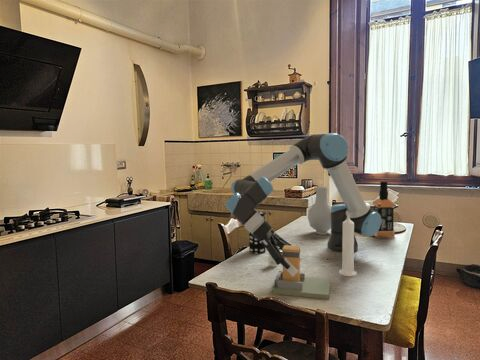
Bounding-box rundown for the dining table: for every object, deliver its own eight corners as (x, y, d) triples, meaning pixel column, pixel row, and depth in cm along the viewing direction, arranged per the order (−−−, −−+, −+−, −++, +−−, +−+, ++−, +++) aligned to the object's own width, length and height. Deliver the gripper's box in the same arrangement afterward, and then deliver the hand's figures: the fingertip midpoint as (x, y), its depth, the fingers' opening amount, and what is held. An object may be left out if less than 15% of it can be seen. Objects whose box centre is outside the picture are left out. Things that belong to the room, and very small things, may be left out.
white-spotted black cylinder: (264, 254, 172) (263, 214, 170) (248, 253, 174) (247, 214, 172) (266, 249, 180) (265, 211, 178) (250, 248, 182) (250, 211, 180)
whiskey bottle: (395, 238, 195) (396, 181, 192) (377, 238, 195) (378, 182, 192) (387, 233, 205) (388, 180, 202) (371, 233, 206) (371, 180, 202)
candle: (336, 270, 148) (336, 213, 145) (352, 270, 148) (353, 212, 146) (342, 277, 140) (343, 216, 138) (359, 276, 141) (360, 215, 139)
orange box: (300, 281, 134) (300, 245, 132) (299, 286, 129) (298, 249, 127) (284, 280, 135) (284, 245, 134) (282, 285, 130) (282, 248, 129)
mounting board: (329, 282, 136) (329, 272, 135) (329, 299, 121) (329, 288, 121) (279, 278, 141) (279, 268, 140) (272, 293, 126) (272, 283, 126)
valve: (278, 268, 152) (287, 260, 163) (278, 253, 152) (287, 246, 162) (264, 266, 155) (274, 258, 166) (264, 252, 155) (274, 245, 165)
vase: (339, 231, 212) (339, 186, 210) (331, 238, 199) (331, 189, 196) (313, 228, 221) (313, 185, 218) (303, 234, 207) (303, 188, 205)
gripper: (258, 225, 146) (294, 262, 144) (243, 242, 122) (286, 286, 120) (270, 213, 144) (307, 251, 142) (257, 228, 120) (301, 273, 118)
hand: (297, 267), depth 131 cm, fingers open, 13 cm apart
